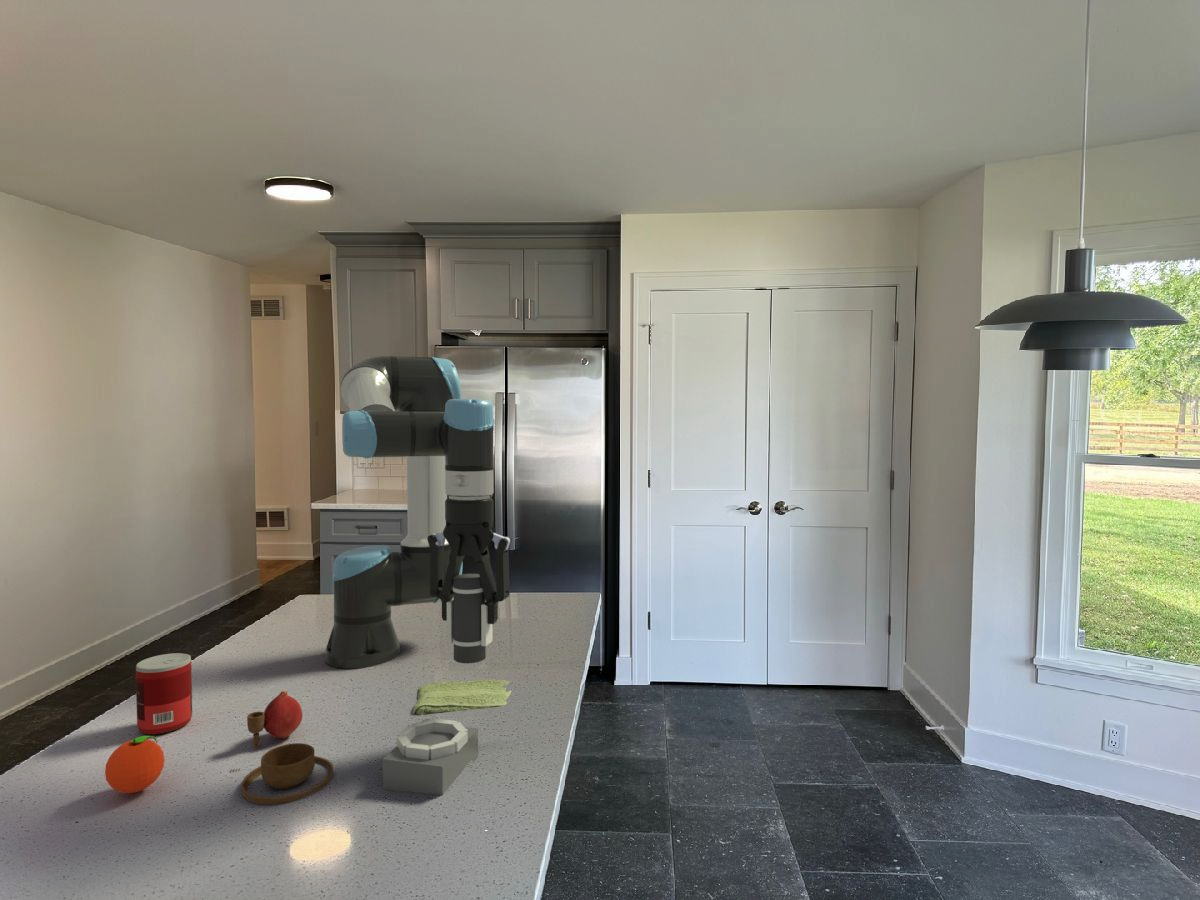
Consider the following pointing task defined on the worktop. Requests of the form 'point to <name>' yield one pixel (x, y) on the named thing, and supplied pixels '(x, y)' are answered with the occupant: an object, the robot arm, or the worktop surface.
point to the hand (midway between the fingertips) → (469, 641)
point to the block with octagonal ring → (429, 756)
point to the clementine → (134, 765)
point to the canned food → (164, 693)
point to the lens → (468, 618)
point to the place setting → (282, 766)
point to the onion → (282, 716)
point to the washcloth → (460, 696)
